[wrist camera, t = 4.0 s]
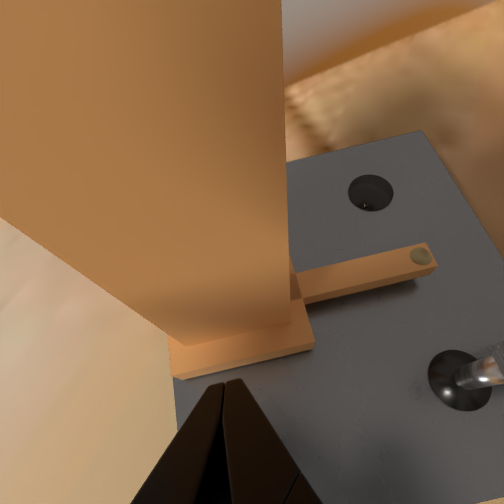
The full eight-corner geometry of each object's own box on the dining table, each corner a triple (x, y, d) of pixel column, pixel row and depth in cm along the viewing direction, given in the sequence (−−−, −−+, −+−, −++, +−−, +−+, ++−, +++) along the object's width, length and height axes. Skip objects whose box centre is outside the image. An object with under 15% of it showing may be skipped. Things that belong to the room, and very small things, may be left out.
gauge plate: (611, 462, 13) (833, 491, 8) (197, 560, 13) (130, 655, 8) (416, 142, 21) (457, 48, 16) (162, 203, 21) (117, 129, 16)
